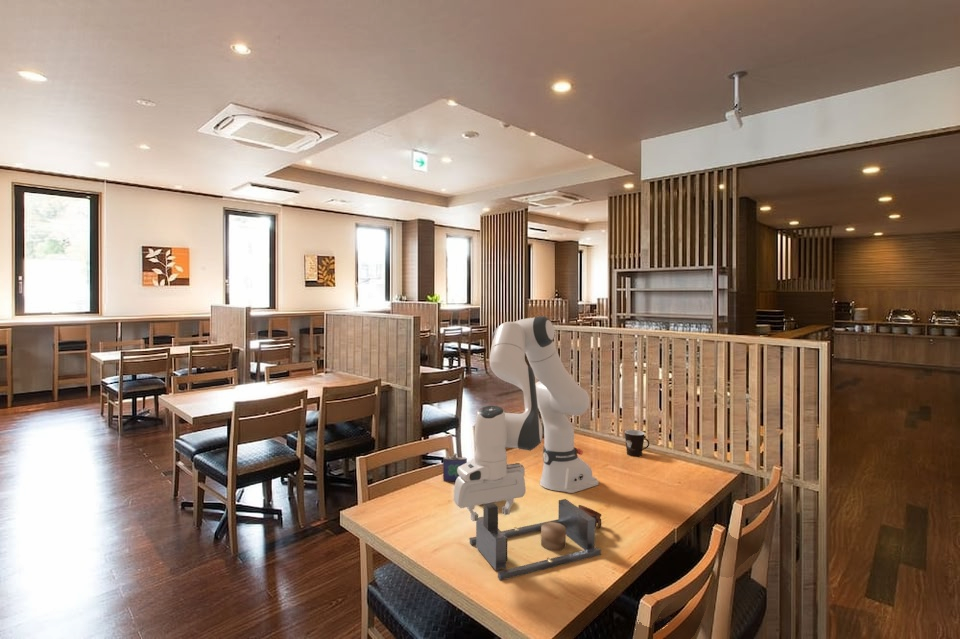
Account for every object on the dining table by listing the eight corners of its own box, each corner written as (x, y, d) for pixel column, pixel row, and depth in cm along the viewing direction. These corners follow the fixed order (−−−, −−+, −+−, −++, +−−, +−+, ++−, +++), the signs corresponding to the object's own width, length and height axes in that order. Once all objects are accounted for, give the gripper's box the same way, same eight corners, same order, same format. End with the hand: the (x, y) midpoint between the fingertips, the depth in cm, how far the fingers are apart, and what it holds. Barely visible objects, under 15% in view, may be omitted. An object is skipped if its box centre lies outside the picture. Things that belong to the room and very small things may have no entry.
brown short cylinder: (557, 536, 149) (557, 520, 148) (570, 547, 142) (570, 530, 142) (536, 541, 146) (536, 524, 145) (549, 552, 139) (549, 535, 139)
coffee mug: (621, 451, 228) (621, 430, 227) (639, 450, 229) (639, 429, 228) (631, 460, 216) (632, 437, 216) (650, 459, 217) (651, 436, 217)
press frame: (560, 523, 157) (560, 495, 157) (601, 555, 138) (601, 523, 137) (469, 542, 145) (469, 512, 144) (500, 581, 126) (500, 546, 125)
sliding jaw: (487, 544, 143) (487, 495, 142) (508, 567, 131) (508, 513, 130) (476, 547, 141) (476, 497, 141) (495, 570, 129) (495, 516, 129)
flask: (467, 479, 194) (466, 452, 193) (466, 482, 191) (466, 455, 190) (443, 479, 194) (443, 452, 194) (442, 482, 191) (442, 454, 191)
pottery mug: (562, 526, 156) (571, 501, 158) (588, 538, 157) (596, 512, 159) (578, 534, 144) (588, 507, 147) (606, 547, 146) (615, 519, 148)
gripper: (519, 458, 142) (518, 505, 142) (451, 468, 134) (451, 518, 134) (529, 465, 136) (529, 515, 137) (460, 476, 128) (460, 528, 128)
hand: (490, 517), depth 135 cm, fingers open, 8 cm apart
